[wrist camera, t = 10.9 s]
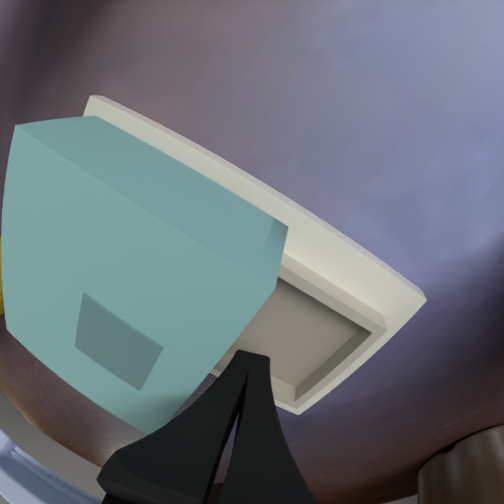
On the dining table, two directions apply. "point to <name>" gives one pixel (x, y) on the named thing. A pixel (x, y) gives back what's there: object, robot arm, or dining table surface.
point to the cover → (127, 265)
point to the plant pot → (466, 472)
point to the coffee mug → (215, 494)
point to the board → (296, 280)
